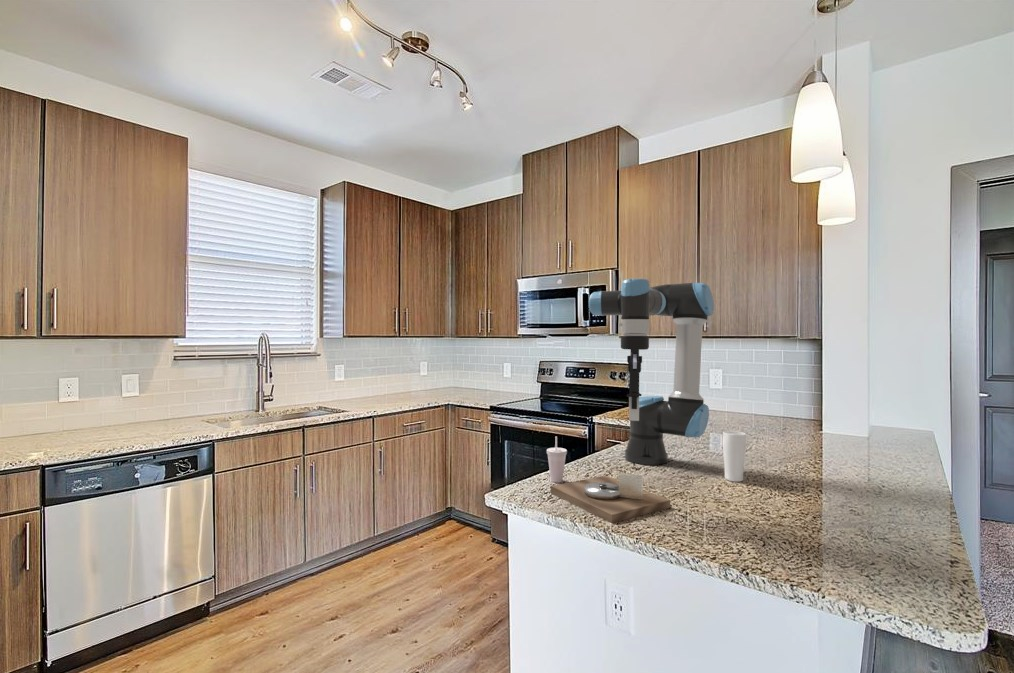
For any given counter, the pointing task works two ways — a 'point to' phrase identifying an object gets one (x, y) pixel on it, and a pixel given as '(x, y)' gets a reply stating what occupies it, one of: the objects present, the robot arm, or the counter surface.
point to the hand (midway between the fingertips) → (633, 420)
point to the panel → (609, 501)
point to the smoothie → (556, 462)
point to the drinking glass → (734, 455)
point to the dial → (617, 488)
